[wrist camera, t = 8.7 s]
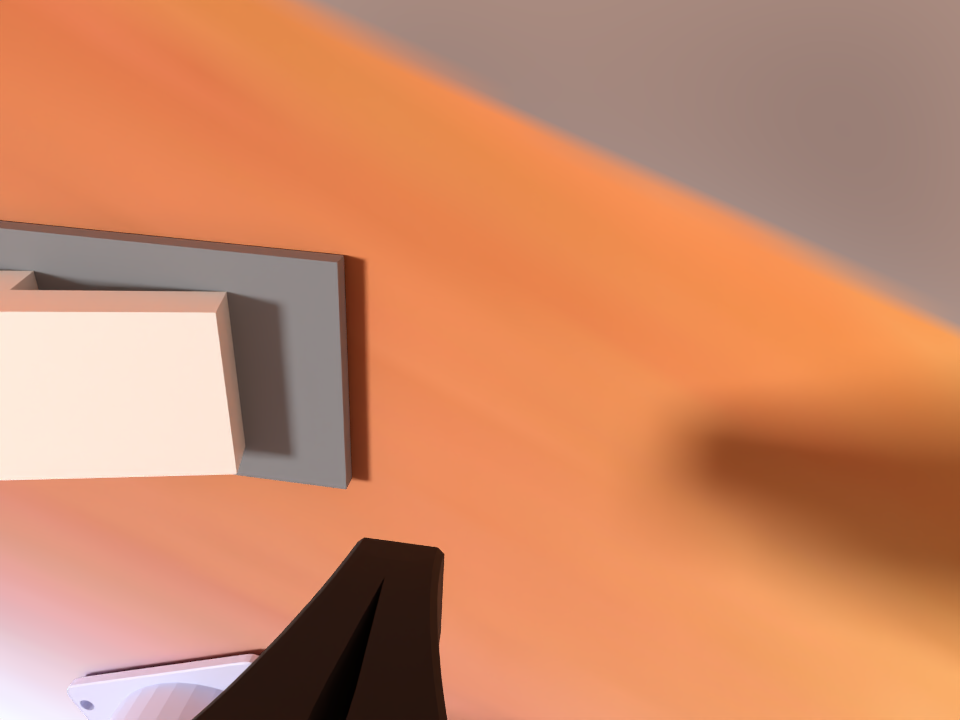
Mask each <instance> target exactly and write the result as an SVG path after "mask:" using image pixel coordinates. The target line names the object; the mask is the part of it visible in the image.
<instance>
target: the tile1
mask: <svg viewBox="0 0 960 720" xmlns="http://www.w3.org/2000/svg"><path fill="white" fill-rule="evenodd" d="M244 449H245V439H244V431H243V423H242V414H241V406H240V398H239V390H238V382H237V373H236V365H235V357H234V349H233V341H232V332H231V324H230V316H229V308H228V300H227V292H207V291H82V290H0V480H33V479H71V478H109V477H147V476H185V475H223V474H237V472H238V469H239V465H240V462H241V459H242V456H243V452H244Z"/></svg>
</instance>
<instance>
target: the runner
mask: <svg viewBox="0 0 960 720" xmlns="http://www.w3.org/2000/svg"><path fill="white" fill-rule="evenodd" d="M0 271H34V274H35V278H36V282H37V286H38V290H82V291H207V292H227V300H228V308H229V316H230V324H231V332H232V341H233V349H234V357H235V365H236V373H237V382H238V390H239V398H240V406H241V414H242V423H243V431H244V439H245V449H244V452H243V456H242V459H241V462H240V465H239V469H238V472H237V474H234V475H241V476H249V477H257V478H264V479H272V480H279V481H287V482H295V483H302V484H310V485H318V486H325V487H333V488H340V489H347V487H348V485H349V483H350V481H351V478H352V471H351V442H350V414H349V386H348V357H347V329H346V300H345V272H344V255H336V254H326V253H316V252H306V251H296V250H286V249H276V248H266V247H256V246H246V245H237V244H227V243H217V242H207V241H197V240H187V239H177V238H167V237H157V236H147V235H137V234H127V233H118V232H108V231H98V230H88V229H78V228H68V227H58V226H48V225H38V224H28V223H18V222H9V221H0Z"/></svg>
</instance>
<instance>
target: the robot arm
mask: <svg viewBox="0 0 960 720" xmlns="http://www.w3.org/2000/svg"><path fill="white" fill-rule="evenodd" d="M443 571H444V553H443V552H442V551H441V550H440V549H439V548H437V547H430V546H423V545H415V544H408V543H401V542H393V541H386V540H379V539H371V538H363V539H362V540H360V541H359V542H357V544H356V545H355V546H354V548H353V549H352V550H351V552H350V553H349V554H348V556H347V557H346V558H345V560H344V561H343V562H342V563H341V565H340V566H339V567H338V568H337V570H336V571H335V572H334V573H333V575H332V576H331V577H330V578H329V579H328V581H327V582H326V583H325V584H324V585H323V587H322V588H321V589H320V590H319V591H318V592H317V594H316V595H315V596H314V597H313V598H312V600H311V601H310V602H309V603H308V604H307V605H306V606H305V607H304V608H303V610H302V611H301V612H300V613H299V614H298V615H297V616H296V617H295V618H294V620H293V621H292V622H291V623H290V624H289V625H288V626H287V627H286V628H285V629H284V631H283V632H282V633H281V634H280V635H279V636H278V637H277V638H276V639H275V640H274V641H273V642H272V643H271V644H270V645H269V646H268V647H267V648H266V649H265V650H264V651H263V652H262V653H261V654H260V655H255V654H245V655H237V656H230V657H223V658H216V659H209V660H201V661H194V662H187V663H180V664H173V665H165V666H158V667H151V668H144V669H137V670H129V671H122V672H115V673H108V674H101V675H93V676H86V677H79V678H76V679H74V680H73V682H72V683H71V684H70V686H69V687H68V688H67V694H68V696H69V697H70V699H71V700H72V701H73V702H74V703H75V704H76V706H77V707H78V708H79V709H80V710H81V712H82V713H83V714H84V715H85V716H86V718H87V719H88V720H447V715H446V708H445V701H444V694H443V686H442V678H441V668H440V655H439V640H440V634H441V614H442V593H443Z"/></svg>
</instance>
